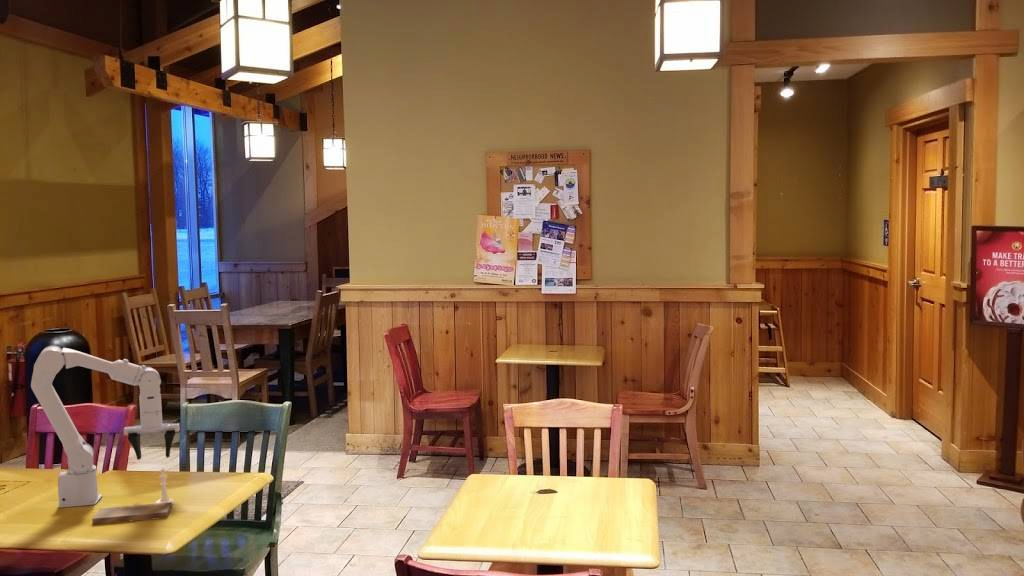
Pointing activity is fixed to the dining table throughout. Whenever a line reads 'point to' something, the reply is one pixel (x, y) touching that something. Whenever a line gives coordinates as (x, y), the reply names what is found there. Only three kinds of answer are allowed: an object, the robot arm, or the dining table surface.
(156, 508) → the walnut board
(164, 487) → the chess piece
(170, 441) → the robot arm
